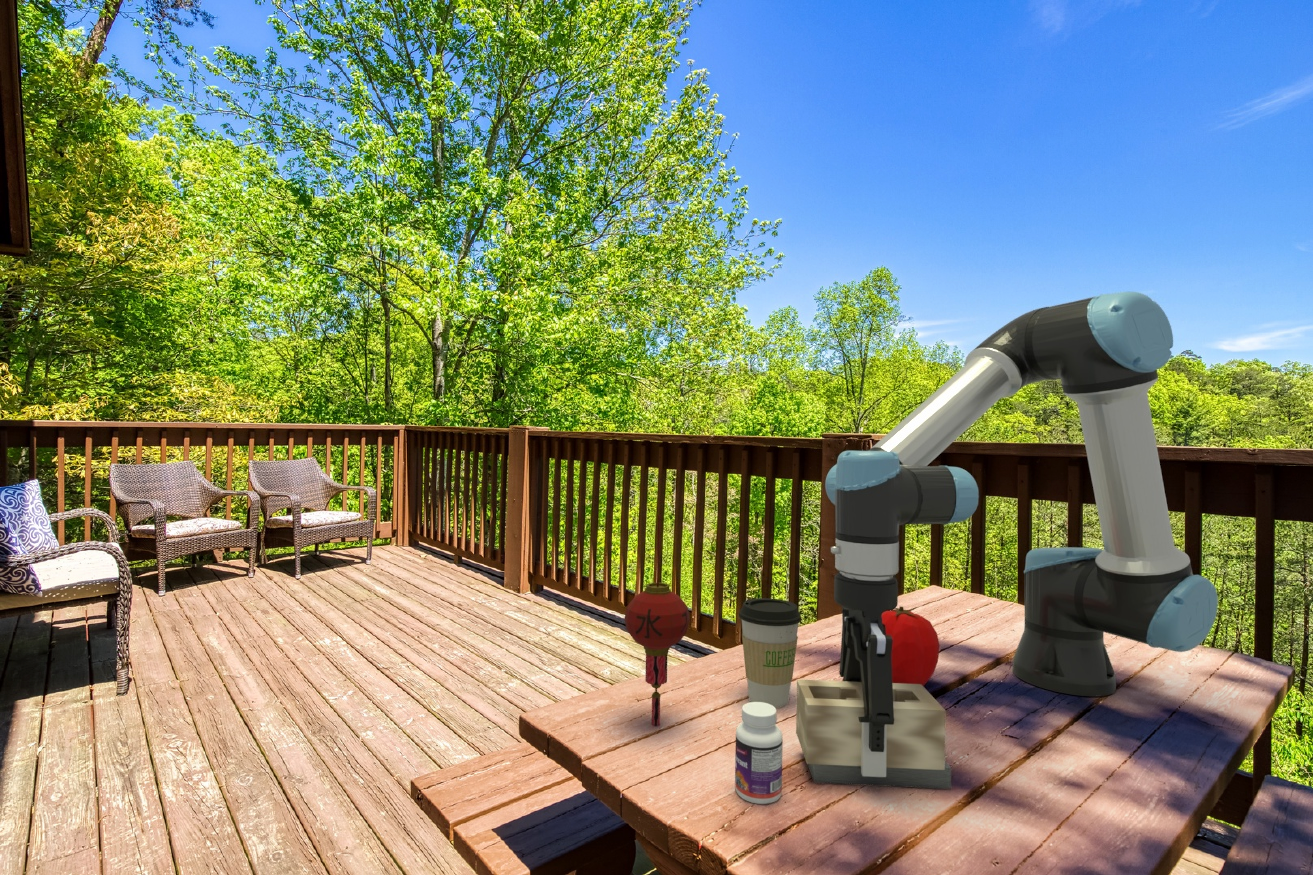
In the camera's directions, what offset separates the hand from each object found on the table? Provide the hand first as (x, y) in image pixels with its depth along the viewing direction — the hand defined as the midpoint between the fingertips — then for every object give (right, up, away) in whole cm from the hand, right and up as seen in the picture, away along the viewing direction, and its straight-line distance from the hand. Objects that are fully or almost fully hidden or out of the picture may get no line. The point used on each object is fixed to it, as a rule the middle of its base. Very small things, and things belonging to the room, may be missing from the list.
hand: (863, 756), depth 78 cm
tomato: (+16, -2, +28) cm, 32 cm away
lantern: (-26, -2, +12) cm, 29 cm away
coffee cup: (-8, -2, +21) cm, 23 cm away
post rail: (+1, -2, 0) cm, 2 cm away
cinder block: (0, +1, 0) cm, 1 cm away
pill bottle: (-14, -2, -5) cm, 15 cm away
